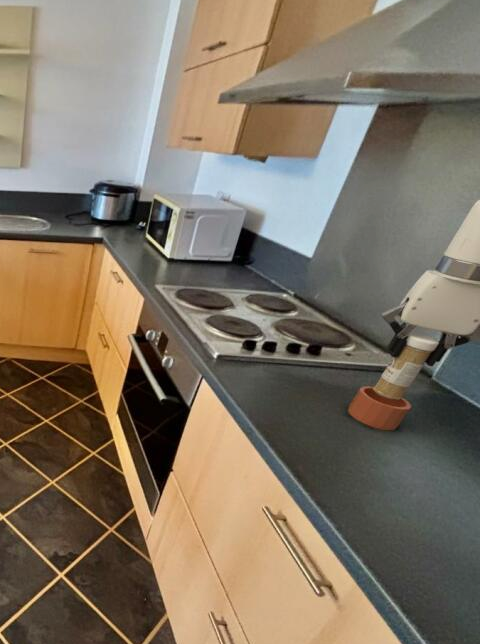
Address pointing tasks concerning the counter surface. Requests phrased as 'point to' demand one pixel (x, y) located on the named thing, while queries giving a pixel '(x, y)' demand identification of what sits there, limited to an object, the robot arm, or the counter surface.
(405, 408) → the holder
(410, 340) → the sprinkles bottle
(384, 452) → the counter surface
